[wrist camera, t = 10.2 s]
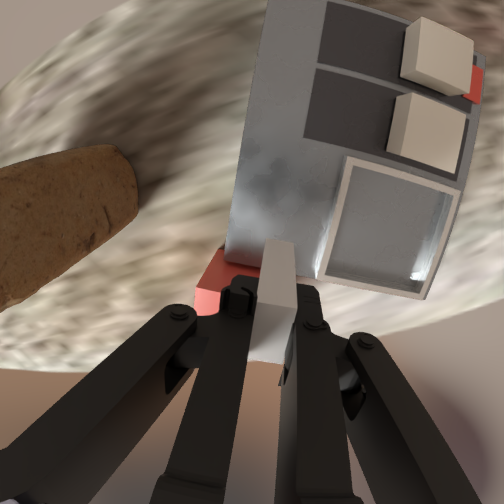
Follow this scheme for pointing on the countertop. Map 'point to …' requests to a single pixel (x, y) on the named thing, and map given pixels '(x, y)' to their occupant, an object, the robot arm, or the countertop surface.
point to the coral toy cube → (218, 282)
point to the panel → (342, 153)
